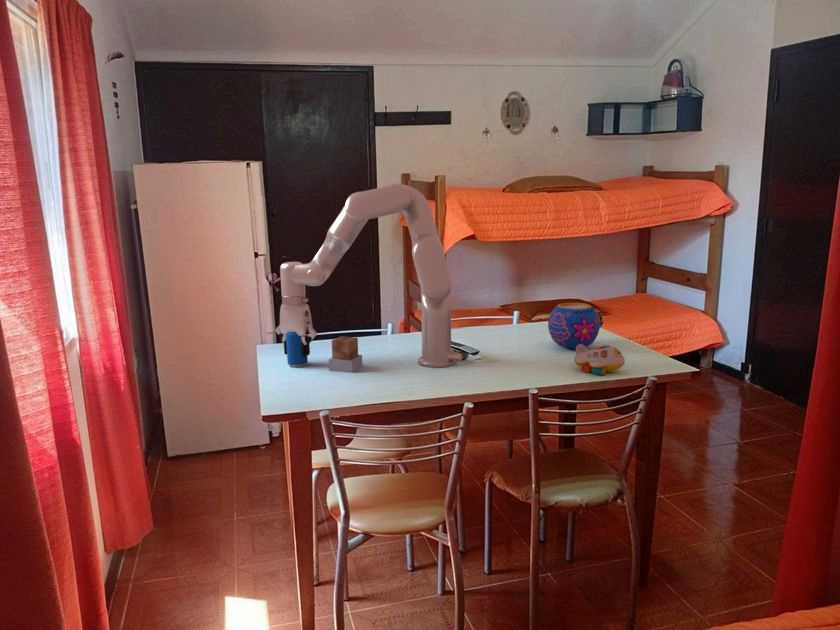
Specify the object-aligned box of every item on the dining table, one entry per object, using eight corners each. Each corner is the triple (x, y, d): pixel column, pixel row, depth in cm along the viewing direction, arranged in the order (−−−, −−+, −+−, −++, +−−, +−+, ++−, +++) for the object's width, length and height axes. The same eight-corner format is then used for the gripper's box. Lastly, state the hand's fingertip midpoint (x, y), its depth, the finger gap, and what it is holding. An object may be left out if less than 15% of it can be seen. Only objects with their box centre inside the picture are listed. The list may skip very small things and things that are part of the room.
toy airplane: (576, 339, 213) (625, 339, 208) (577, 365, 215) (626, 366, 210) (571, 349, 201) (623, 350, 196) (572, 377, 203) (624, 378, 198)
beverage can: (310, 362, 222) (308, 327, 220) (304, 367, 216) (302, 331, 214) (291, 362, 223) (288, 327, 221) (285, 367, 217) (283, 331, 214)
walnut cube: (358, 355, 215) (357, 337, 214) (348, 360, 210) (348, 341, 209) (342, 354, 218) (341, 336, 217) (332, 358, 212) (331, 340, 211)
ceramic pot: (610, 348, 233) (611, 305, 230) (574, 356, 223) (575, 312, 220) (572, 338, 247) (573, 298, 244) (537, 346, 237) (537, 304, 234)
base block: (362, 366, 217) (362, 354, 216) (352, 373, 210) (351, 361, 209) (340, 364, 220) (339, 353, 219) (329, 371, 212) (328, 359, 212)
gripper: (323, 300, 215) (325, 354, 218) (279, 297, 222) (283, 349, 226) (309, 304, 208) (312, 360, 212) (265, 300, 216) (268, 354, 219)
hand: (297, 354), depth 219 cm, fingers closed on beverage can, 6 cm apart
